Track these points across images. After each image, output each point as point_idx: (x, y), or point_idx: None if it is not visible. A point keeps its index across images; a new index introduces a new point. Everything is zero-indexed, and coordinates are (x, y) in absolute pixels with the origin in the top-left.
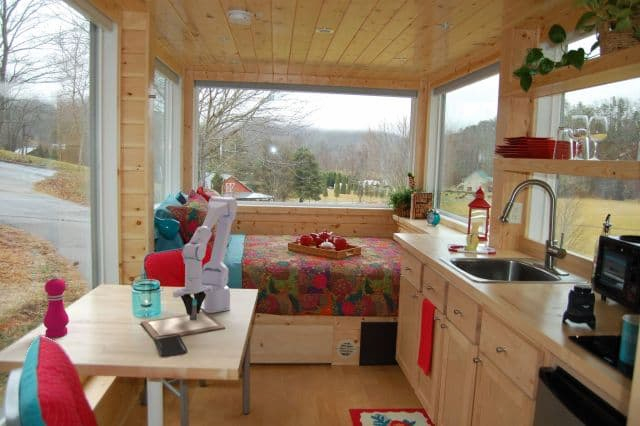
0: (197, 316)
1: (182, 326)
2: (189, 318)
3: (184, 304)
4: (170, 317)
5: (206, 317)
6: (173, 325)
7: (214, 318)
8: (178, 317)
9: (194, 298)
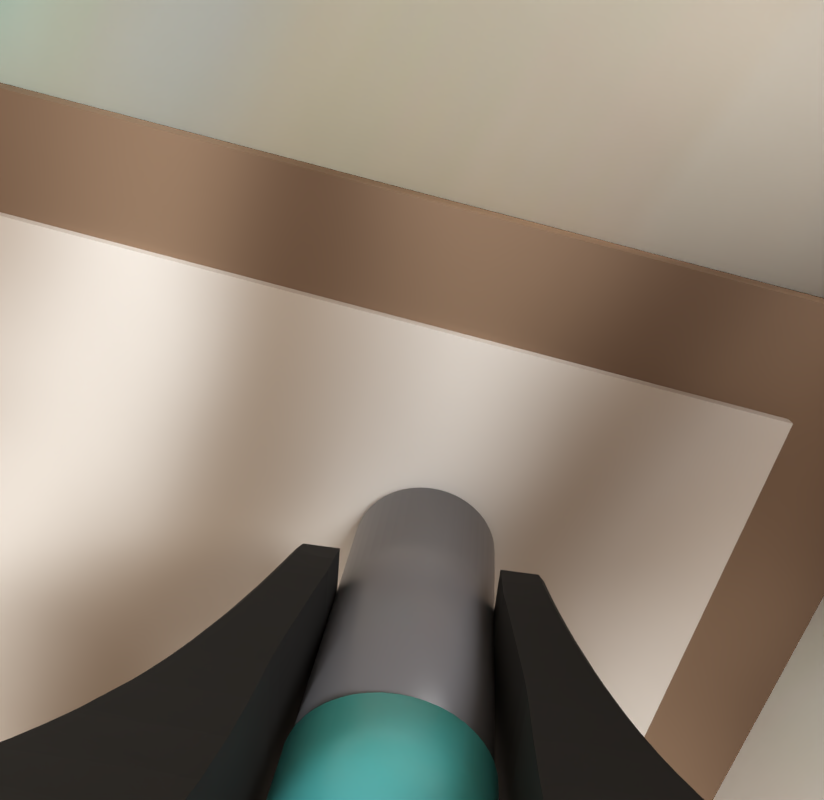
0: (580, 485)
1: (108, 684)
2: (356, 532)
3: (172, 659)
4: (131, 140)
5: (667, 628)
6: (5, 566)
7: (749, 721)
8: (250, 286)
9: (534, 793)
